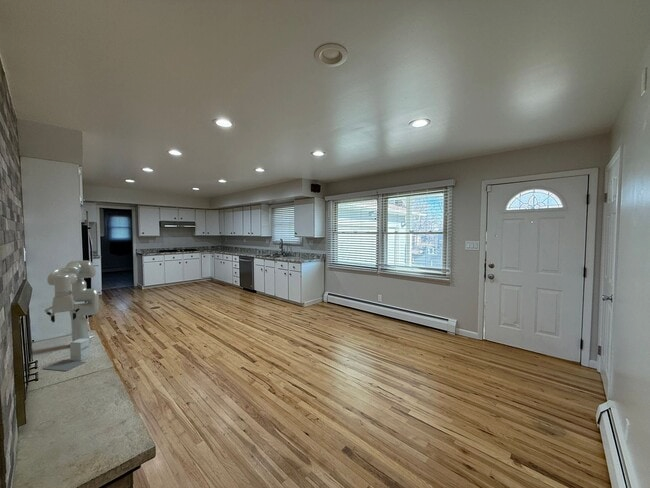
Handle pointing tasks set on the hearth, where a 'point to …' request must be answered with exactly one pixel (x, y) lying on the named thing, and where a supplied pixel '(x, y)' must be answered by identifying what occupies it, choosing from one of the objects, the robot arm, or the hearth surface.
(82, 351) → the supplement box
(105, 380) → the hearth surface
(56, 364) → the mat
